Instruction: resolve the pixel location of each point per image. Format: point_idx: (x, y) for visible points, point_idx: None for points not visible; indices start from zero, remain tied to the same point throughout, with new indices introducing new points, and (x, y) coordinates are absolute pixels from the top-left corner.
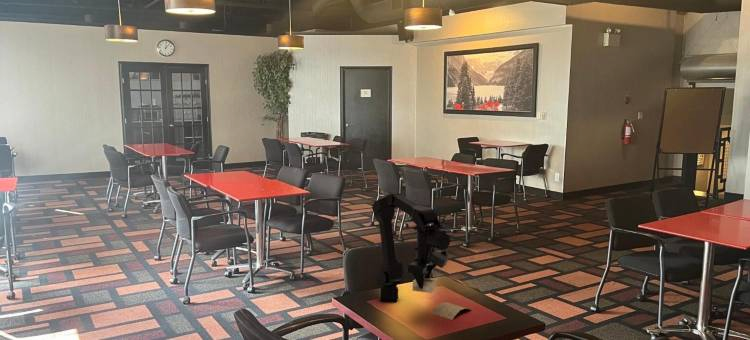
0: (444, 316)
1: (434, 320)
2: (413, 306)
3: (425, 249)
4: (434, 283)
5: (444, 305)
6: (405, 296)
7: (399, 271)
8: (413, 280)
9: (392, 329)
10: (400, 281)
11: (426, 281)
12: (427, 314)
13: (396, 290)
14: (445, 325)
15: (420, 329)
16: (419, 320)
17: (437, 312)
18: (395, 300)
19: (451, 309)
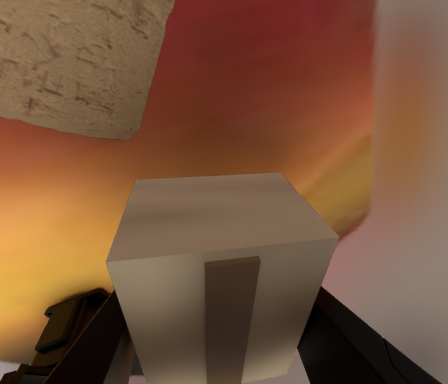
0: (153, 55)
1: (224, 98)
2: (102, 231)
3: None
4: (167, 219)
5: (37, 83)
6: (11, 290)
7: None
8: (265, 377)
9: (341, 211)
10: (20, 377)
11: (266, 307)
12: (163, 152)
13: (71, 335)
14: (274, 17)
15: (335, 128)
16: (245, 161)
17: (128, 109)
18: (97, 296)
19: (73, 10)
